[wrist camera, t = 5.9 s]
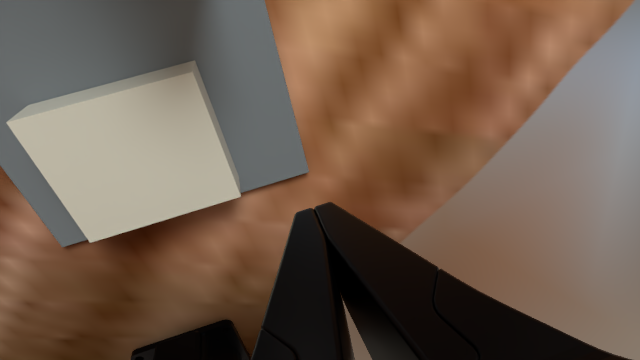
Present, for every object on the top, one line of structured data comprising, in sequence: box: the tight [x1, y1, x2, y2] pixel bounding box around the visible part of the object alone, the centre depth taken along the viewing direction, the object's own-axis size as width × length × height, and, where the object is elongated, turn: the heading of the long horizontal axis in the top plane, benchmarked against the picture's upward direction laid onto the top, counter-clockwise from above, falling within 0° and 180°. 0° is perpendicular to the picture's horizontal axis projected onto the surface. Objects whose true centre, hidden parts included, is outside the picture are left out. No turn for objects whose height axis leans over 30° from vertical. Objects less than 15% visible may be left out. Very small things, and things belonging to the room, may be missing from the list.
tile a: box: [6, 60, 241, 243], centre depth 17 cm, size 6×2×7 cm
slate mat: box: [0, 0, 309, 247], centre depth 15 cm, size 19×13×1 cm
